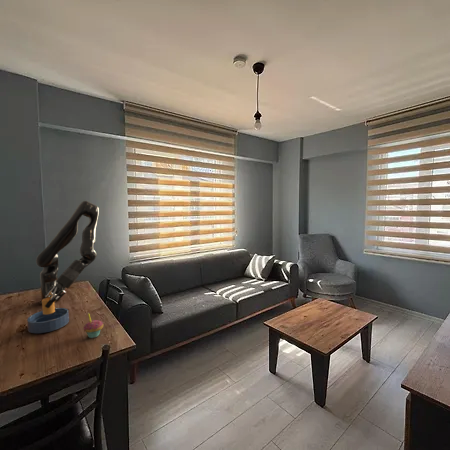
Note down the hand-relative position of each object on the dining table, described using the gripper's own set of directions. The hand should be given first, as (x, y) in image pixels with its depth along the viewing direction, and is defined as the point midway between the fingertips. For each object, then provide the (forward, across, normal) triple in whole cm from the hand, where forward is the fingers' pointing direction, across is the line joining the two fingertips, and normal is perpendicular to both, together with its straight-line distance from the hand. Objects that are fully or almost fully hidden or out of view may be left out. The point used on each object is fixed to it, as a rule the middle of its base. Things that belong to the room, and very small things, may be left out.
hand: (44, 305), depth 127 cm
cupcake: (+1, -29, -16) cm, 33 cm away
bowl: (+7, 0, -9) cm, 12 cm away
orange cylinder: (+2, 0, -4) cm, 5 cm away
